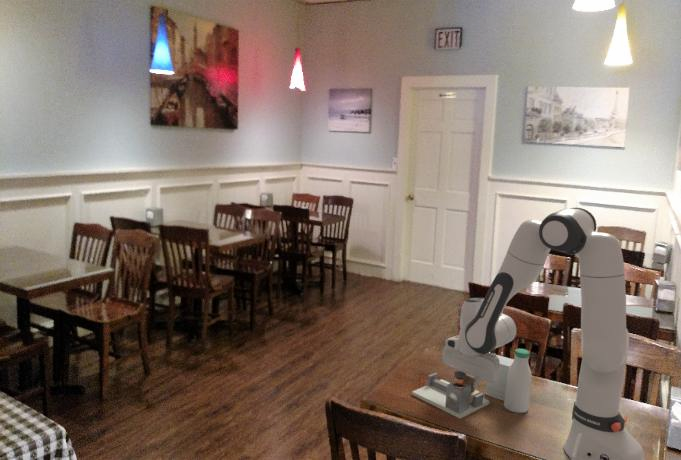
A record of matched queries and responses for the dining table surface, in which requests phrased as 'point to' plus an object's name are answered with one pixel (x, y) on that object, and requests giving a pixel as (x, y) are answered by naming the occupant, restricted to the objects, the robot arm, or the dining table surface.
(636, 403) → the dining table surface
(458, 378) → the knob
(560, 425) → the dining table surface
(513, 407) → the milk bottle
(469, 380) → the carriage
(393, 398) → the dining table surface
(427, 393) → the rail bed
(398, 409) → the dining table surface
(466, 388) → the cabinet
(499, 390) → the supplement box
